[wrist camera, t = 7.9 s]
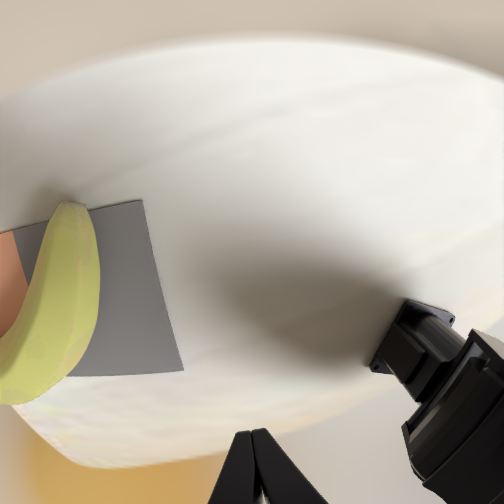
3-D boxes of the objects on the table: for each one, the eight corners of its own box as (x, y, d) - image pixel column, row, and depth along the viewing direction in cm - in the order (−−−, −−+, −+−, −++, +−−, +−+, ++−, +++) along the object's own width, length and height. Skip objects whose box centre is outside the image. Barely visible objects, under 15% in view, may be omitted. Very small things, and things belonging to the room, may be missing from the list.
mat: (142, 199, 17) (141, 200, 17) (183, 368, 21) (183, 370, 20) (13, 230, 16) (12, 230, 16) (67, 374, 20) (66, 376, 20)
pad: (13, 230, 16) (12, 230, 16) (67, 374, 20) (66, 376, 20) (-46, 248, 16) (-48, 249, 16) (4, 372, 19) (3, 373, 19)
